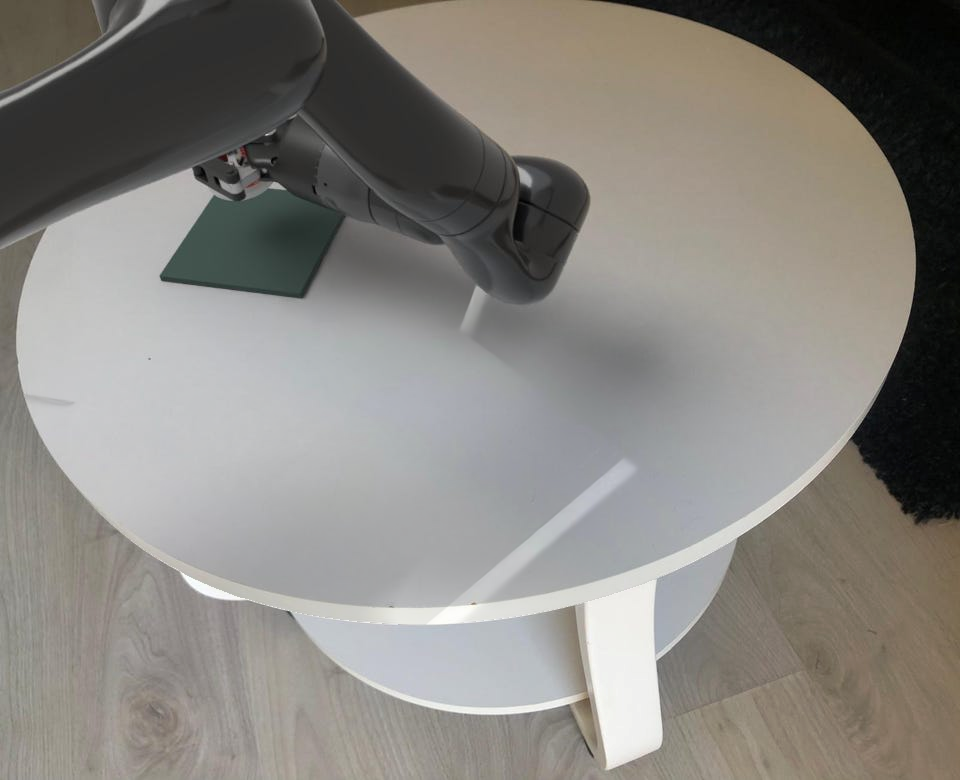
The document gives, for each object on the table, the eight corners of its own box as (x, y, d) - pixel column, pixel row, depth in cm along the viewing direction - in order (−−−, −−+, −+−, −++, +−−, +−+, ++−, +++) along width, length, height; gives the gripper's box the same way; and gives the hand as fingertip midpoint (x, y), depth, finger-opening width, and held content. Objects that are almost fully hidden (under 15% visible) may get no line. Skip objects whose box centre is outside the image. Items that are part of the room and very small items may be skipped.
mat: (161, 280, 92) (158, 275, 91) (222, 188, 101) (221, 183, 100) (301, 298, 89) (300, 293, 88) (352, 201, 97) (351, 196, 97)
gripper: (400, 80, 80) (248, 34, 87) (280, 177, 72) (126, 117, 79) (412, 159, 85) (269, 109, 92) (302, 256, 78) (156, 193, 85)
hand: (203, 113), depth 86 cm, fingers closed on pill bottle, 6 cm apart
